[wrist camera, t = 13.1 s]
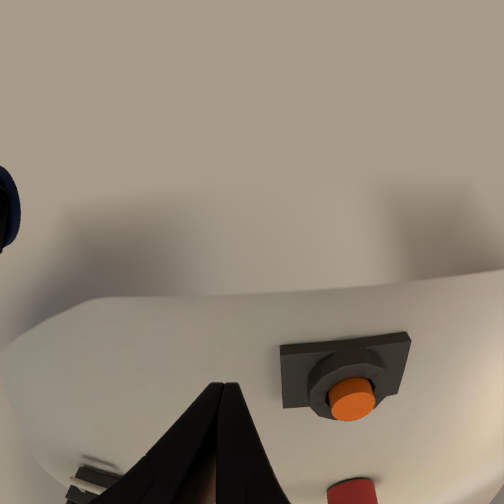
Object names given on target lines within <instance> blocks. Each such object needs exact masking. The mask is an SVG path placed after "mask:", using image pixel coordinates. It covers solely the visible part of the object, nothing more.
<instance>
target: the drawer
mask: <svg viewBox="0 0 504 504" xmlns="http://www.w3.org/2000/svg"><path fill="white" fill-rule="evenodd" d="M118 480H119V479H116V478H112V477H109V476H105V475H102V474H99V473H96V472H92V471H89V470H86V469H84V468H81V467H79V469H78V471H77V473H76V475H75V477H70V479H69V483H70V484H71V486H70V488H69V490H68V492H67V494H66V498H67V499H68V500H69V501H72V502H74V503H77V504H87V503H88V502H90V501H91V500H93V499H94V498H95V497H97V496H98V495H99V494H101V493H102V492H103V491H105V490H106V489H107V488H109V487H110V486H111V485H113V484H114V483H115V482H116V481H118Z"/></svg>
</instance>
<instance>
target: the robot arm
mask: <svg viewBox="0 0 504 504" xmlns="http://www.w3.org/2000/svg"><path fill="white" fill-rule="evenodd" d="M11 198H12V196H11V193H10V192H9V191H8V190H7V189H6V188H5V187H3V186H2V185H1V184H0V254H1V253H2V251H3V244H4V237H5V230H6V224H7V219H8V213H9V208H10V203H11ZM145 455H146V456H143V457H142V458H141V459H140V460H139V461H138V462H137V463H136V464H135V465H134V466H133V467H132V468H131V469H130V470H129V471H128V472H127V473H126V474H125V475H124V476H122V477H121V478H120V479H119V480H118V481H116V482H115V483H114V484H113V485H111V486H110V487H109V488H107V489H106V490H105V491H103V492H102V493H101V494H99V495H98V496H97V497H95V498H94V499H93V500H91V501H90V502H88V503H87V504H215V502H216V504H291V503H290V502H289V500H288V498H287V497H286V495H285V494H284V492H283V490H282V489H281V486H280V484H279V482H278V480H277V478H276V476H275V474H274V472H273V469H272V467H271V465H270V462H269V460H268V458H267V455H266V453H265V450H264V448H263V445H262V443H261V441H260V438H259V436H258V433H257V430H256V428H255V425H254V423H253V420H252V418H251V415H250V413H249V410H248V407H247V405H246V402H245V399H244V397H243V394H242V391H241V389H240V386H239V384H238V383H237V382H227V383H225V384H224V383H222V382H212V383H210V384H209V385H208V386H207V387H206V388H205V389H204V391H203V392H202V393H201V394H200V395H199V396H198V397H197V399H196V400H195V401H194V402H193V403H192V404H191V405H190V406H189V408H188V409H187V410H186V411H185V412H184V413H183V414H182V415H181V416H180V418H179V419H178V420H177V421H176V422H175V423H174V424H173V425H172V426H171V427H170V429H169V430H168V431H167V432H166V433H165V434H164V435H163V436H162V437H161V438H160V439H159V440H158V441H157V443H156V444H155V445H154V446H153V447H152V448H151V449H150V450H149V451H148V452H147V453H146V454H145Z"/></svg>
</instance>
